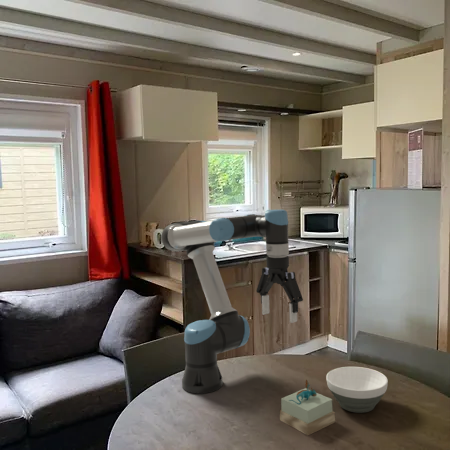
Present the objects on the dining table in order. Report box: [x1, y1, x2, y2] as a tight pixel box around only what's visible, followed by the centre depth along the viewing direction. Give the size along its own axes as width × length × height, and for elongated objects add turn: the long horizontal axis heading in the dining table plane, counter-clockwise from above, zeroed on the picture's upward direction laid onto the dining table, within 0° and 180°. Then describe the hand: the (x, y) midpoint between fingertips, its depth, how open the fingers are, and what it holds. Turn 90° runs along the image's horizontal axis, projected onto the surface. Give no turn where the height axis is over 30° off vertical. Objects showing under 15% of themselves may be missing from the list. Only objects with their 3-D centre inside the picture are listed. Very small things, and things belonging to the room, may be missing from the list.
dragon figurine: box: [289, 379, 317, 404], centre depth 149 cm, size 6×7×8 cm
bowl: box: [325, 366, 389, 414], centre depth 159 cm, size 20×20×10 cm
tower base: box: [279, 409, 336, 436], centre depth 150 cm, size 12×12×4 cm
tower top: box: [280, 387, 333, 424], centre depth 150 cm, size 11×11×4 cm
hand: (279, 317), depth 164 cm, fingers open, 13 cm apart
